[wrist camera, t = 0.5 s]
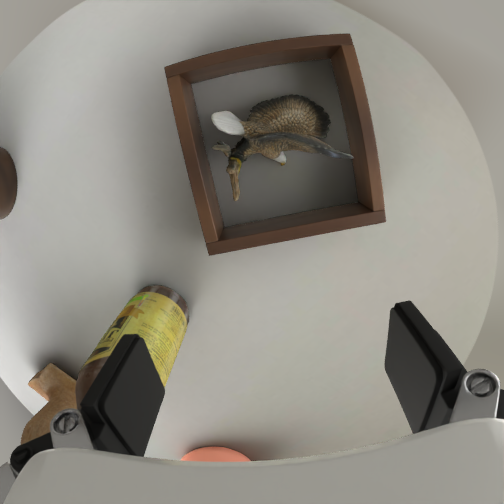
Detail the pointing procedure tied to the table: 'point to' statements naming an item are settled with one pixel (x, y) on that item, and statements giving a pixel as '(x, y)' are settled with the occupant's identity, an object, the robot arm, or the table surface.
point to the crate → (356, 124)
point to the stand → (7, 183)
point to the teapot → (215, 455)
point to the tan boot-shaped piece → (50, 399)
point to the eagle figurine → (274, 132)
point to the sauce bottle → (142, 333)
